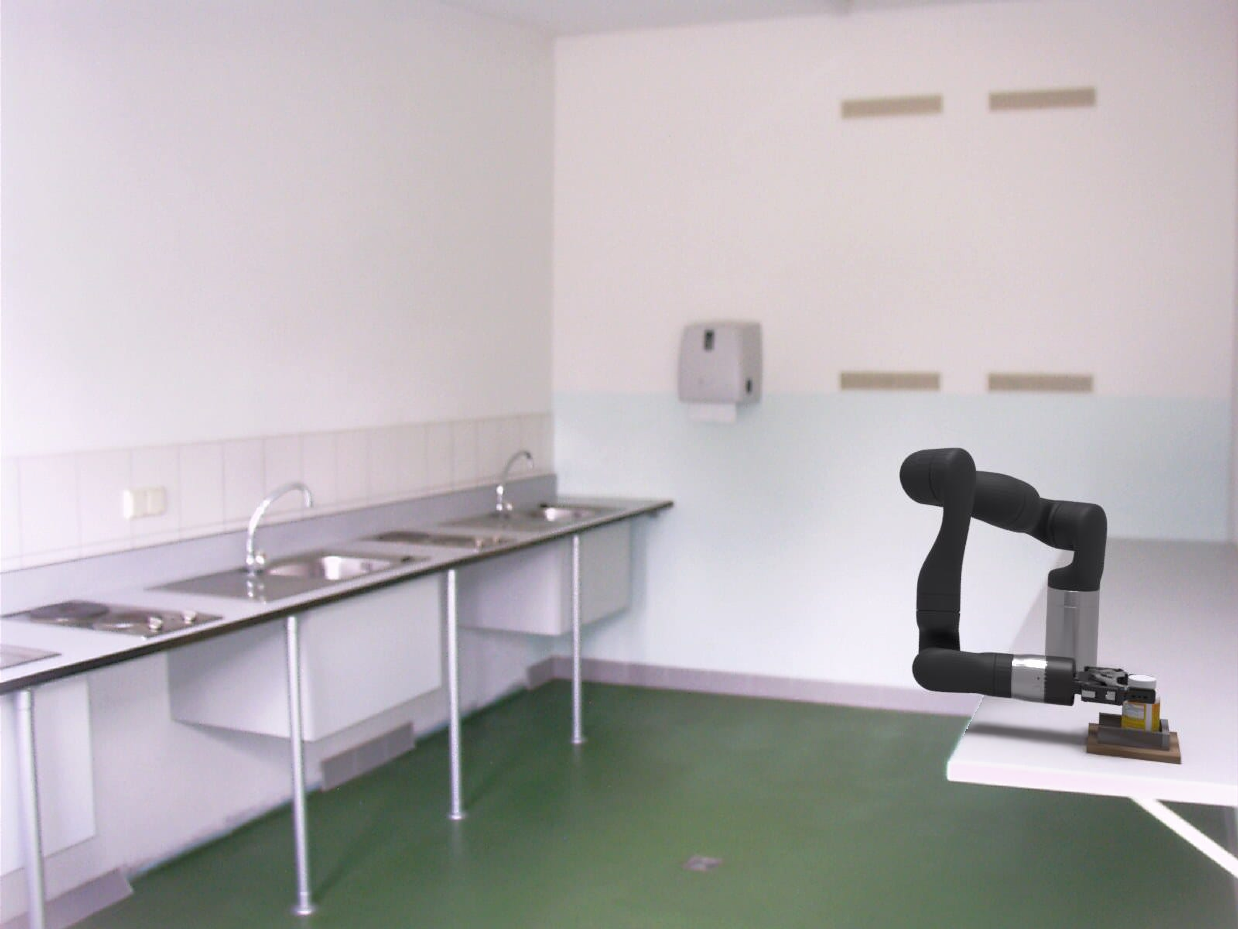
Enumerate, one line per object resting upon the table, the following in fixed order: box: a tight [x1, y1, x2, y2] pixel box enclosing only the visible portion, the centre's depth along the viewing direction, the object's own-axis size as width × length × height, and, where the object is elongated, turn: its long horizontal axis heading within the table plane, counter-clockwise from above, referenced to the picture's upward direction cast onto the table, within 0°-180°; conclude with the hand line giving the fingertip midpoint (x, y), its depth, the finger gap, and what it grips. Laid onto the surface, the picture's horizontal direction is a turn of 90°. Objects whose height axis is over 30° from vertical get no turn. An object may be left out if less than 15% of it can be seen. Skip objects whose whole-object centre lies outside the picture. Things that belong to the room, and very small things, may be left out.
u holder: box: [1086, 711, 1182, 765], centre depth 194 cm, size 14×13×4 cm
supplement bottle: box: [1121, 674, 1161, 732], centre depth 194 cm, size 5×5×10 cm
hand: (1154, 690), depth 193 cm, fingers open, 8 cm apart
